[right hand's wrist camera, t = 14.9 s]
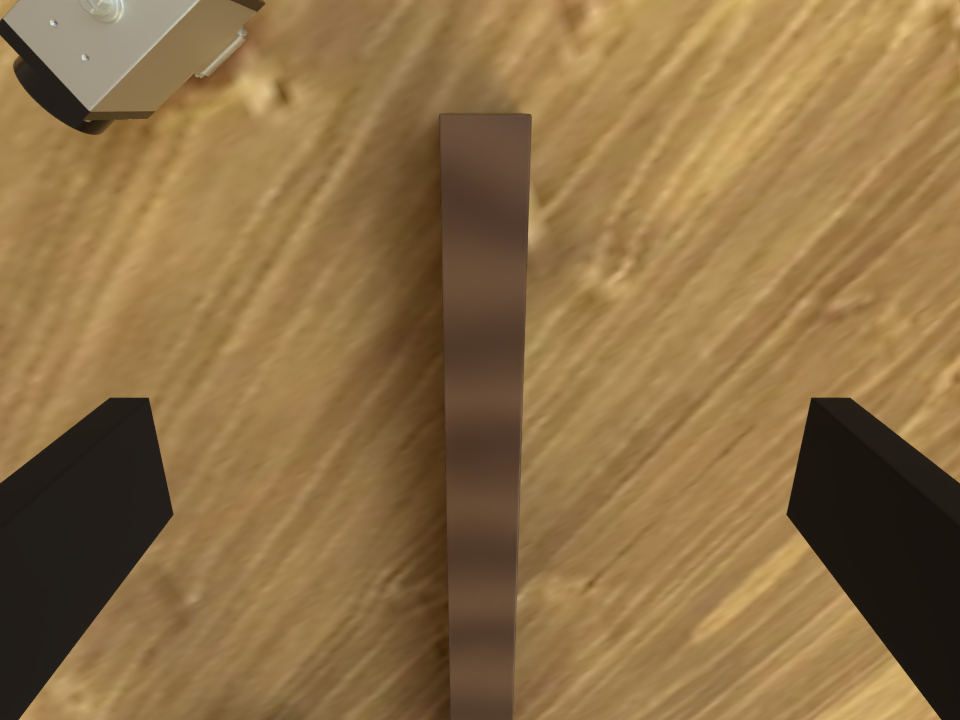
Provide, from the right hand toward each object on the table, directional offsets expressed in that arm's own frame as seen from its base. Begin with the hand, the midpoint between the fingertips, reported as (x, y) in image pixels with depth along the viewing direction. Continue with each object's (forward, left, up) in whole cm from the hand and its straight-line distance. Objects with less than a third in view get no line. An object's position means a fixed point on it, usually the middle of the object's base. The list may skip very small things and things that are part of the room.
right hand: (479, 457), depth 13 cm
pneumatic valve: (+19, -6, -30) cm, 36 cm away
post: (-7, +20, -30) cm, 36 cm away
